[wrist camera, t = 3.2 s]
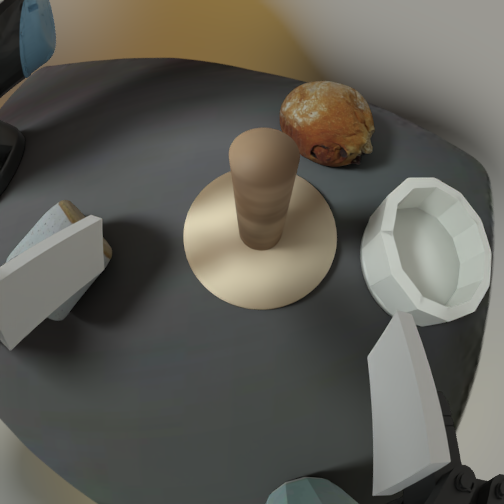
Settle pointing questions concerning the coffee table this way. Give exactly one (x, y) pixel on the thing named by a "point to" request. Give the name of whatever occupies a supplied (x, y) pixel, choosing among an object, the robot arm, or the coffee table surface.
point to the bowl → (426, 253)
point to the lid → (260, 226)
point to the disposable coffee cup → (309, 492)
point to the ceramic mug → (46, 227)
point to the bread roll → (328, 123)
